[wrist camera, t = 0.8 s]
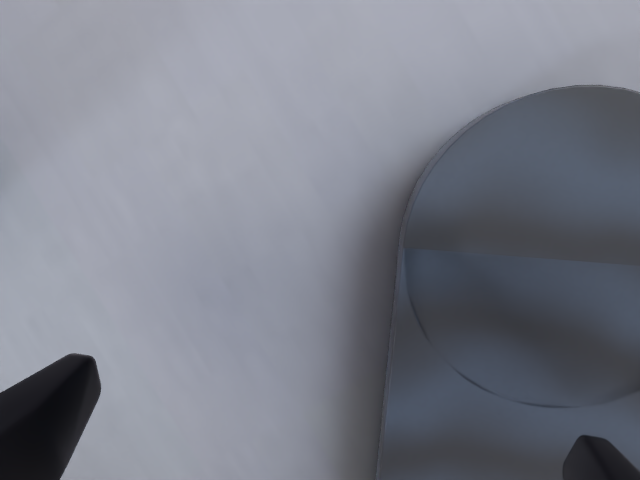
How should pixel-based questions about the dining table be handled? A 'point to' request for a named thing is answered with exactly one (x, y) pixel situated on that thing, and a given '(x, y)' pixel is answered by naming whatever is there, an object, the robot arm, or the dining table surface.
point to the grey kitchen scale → (519, 294)
